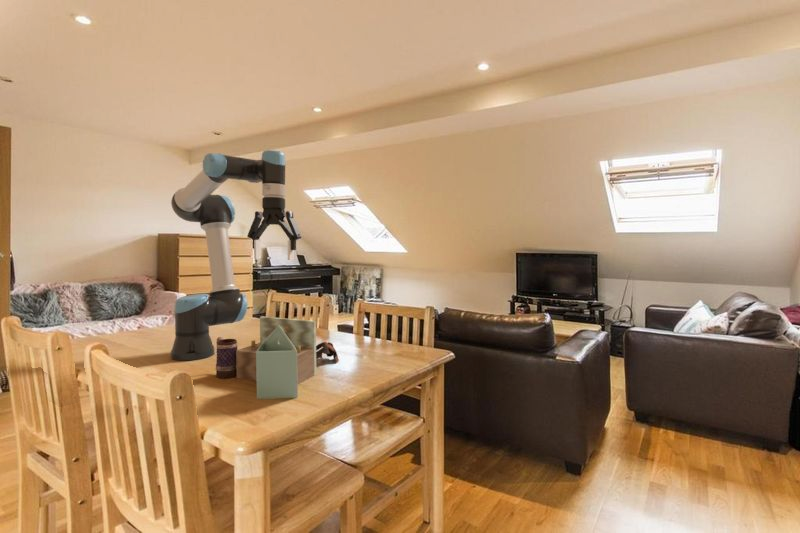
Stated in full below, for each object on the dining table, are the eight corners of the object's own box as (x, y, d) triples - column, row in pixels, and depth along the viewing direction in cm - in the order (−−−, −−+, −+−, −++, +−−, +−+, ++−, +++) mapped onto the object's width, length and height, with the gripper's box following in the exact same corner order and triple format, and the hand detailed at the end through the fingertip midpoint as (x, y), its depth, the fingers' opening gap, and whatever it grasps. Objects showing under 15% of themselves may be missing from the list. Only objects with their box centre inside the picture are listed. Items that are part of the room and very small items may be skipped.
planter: (241, 392, 123) (239, 325, 121) (264, 385, 129) (263, 321, 128) (274, 406, 113) (273, 333, 111) (298, 397, 119) (297, 328, 118)
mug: (242, 375, 138) (242, 339, 137) (220, 380, 133) (220, 343, 132) (230, 368, 145) (229, 334, 144) (209, 373, 140) (208, 337, 139)
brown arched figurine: (338, 367, 149) (326, 348, 147) (315, 376, 151) (303, 358, 149) (344, 350, 161) (333, 332, 159) (323, 359, 162) (312, 342, 160)
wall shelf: (236, 377, 135) (235, 323, 134) (263, 366, 147) (262, 316, 146) (293, 386, 127) (292, 328, 126) (316, 374, 139) (315, 321, 138)
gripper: (236, 196, 143) (237, 258, 145) (299, 195, 135) (299, 261, 137) (250, 198, 150) (251, 257, 152) (311, 197, 142) (311, 259, 144)
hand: (274, 259), depth 144 cm, fingers open, 13 cm apart
